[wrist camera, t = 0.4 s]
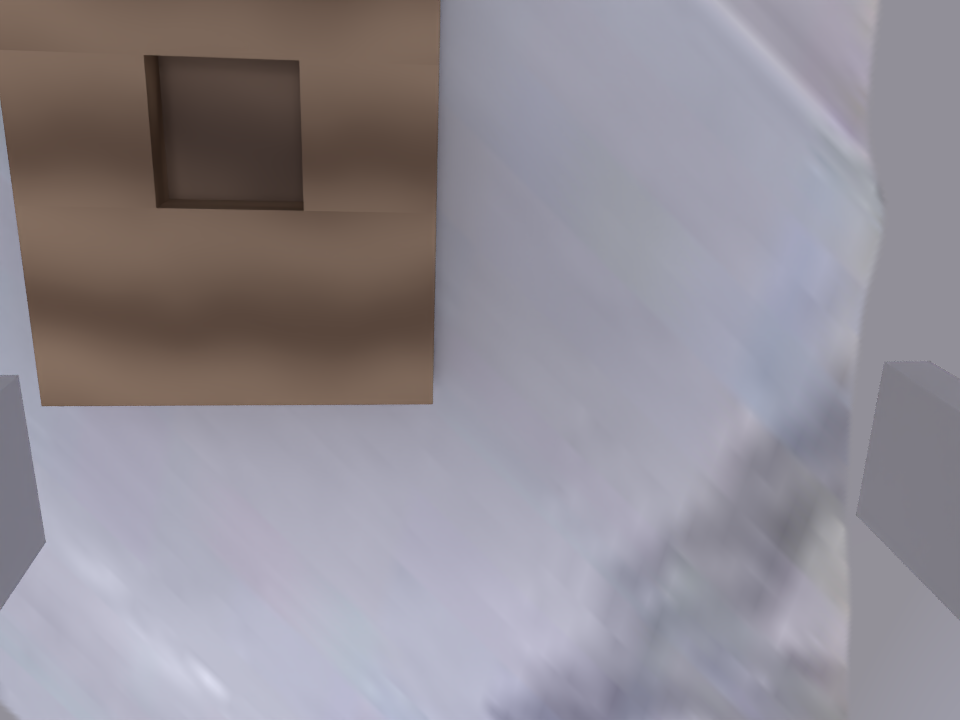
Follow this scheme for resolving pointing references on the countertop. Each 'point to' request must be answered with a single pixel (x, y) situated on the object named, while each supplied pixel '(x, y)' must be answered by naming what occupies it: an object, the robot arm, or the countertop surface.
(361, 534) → the countertop surface
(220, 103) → the bore block
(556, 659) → the countertop surface
